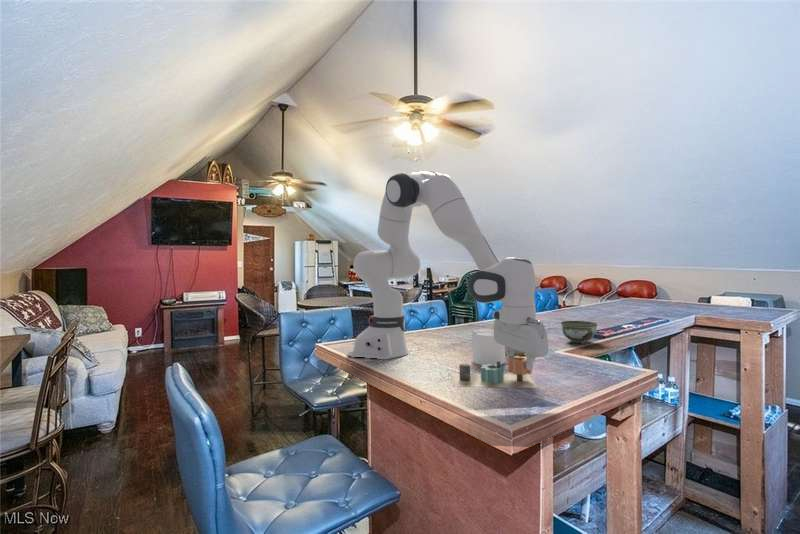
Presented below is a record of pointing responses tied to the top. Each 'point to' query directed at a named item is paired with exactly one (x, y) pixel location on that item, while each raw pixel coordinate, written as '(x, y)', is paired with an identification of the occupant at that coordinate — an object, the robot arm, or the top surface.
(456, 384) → the gear board
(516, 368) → the gear
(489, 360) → the mug
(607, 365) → the top surface
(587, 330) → the bowl
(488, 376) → the gear
